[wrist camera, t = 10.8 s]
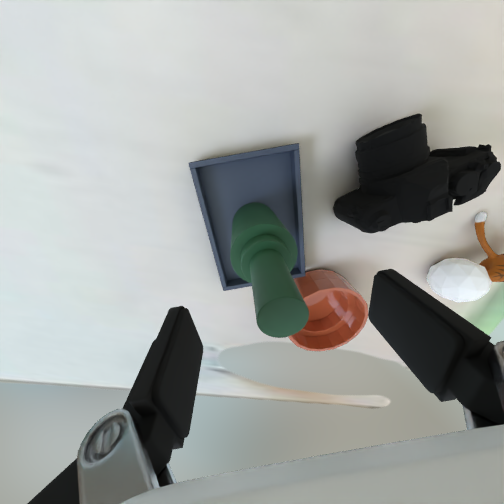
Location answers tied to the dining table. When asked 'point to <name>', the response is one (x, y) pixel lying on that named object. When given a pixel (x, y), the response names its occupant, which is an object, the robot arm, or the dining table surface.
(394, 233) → the dining table surface
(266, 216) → the bottle
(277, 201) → the tray
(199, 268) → the dining table surface
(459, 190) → the film camera
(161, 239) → the dining table surface
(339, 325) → the bowl
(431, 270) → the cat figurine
